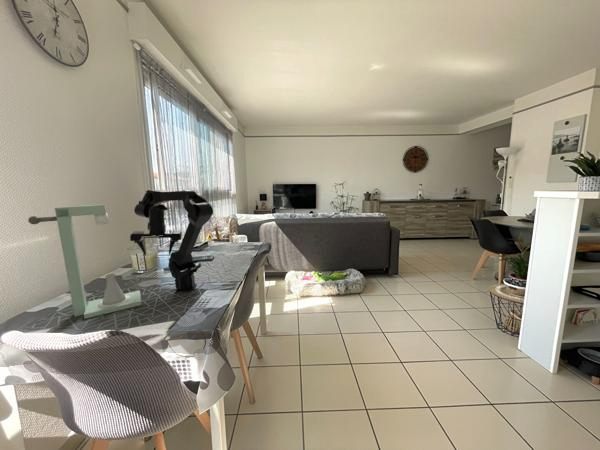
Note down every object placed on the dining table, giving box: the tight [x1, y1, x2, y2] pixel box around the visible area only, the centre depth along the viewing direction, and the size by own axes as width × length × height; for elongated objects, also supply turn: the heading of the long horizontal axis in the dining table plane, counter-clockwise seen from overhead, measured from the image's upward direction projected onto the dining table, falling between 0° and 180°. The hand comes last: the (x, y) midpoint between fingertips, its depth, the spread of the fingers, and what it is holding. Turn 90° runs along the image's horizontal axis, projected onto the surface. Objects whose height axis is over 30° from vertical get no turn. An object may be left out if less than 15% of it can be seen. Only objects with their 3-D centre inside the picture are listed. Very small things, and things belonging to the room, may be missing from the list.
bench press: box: [27, 204, 142, 320], centre depth 87 cm, size 26×12×36 cm, turn 124°
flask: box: [102, 272, 126, 305], centre depth 92 cm, size 7×7×10 cm
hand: (157, 254), depth 110 cm, fingers open, 9 cm apart
